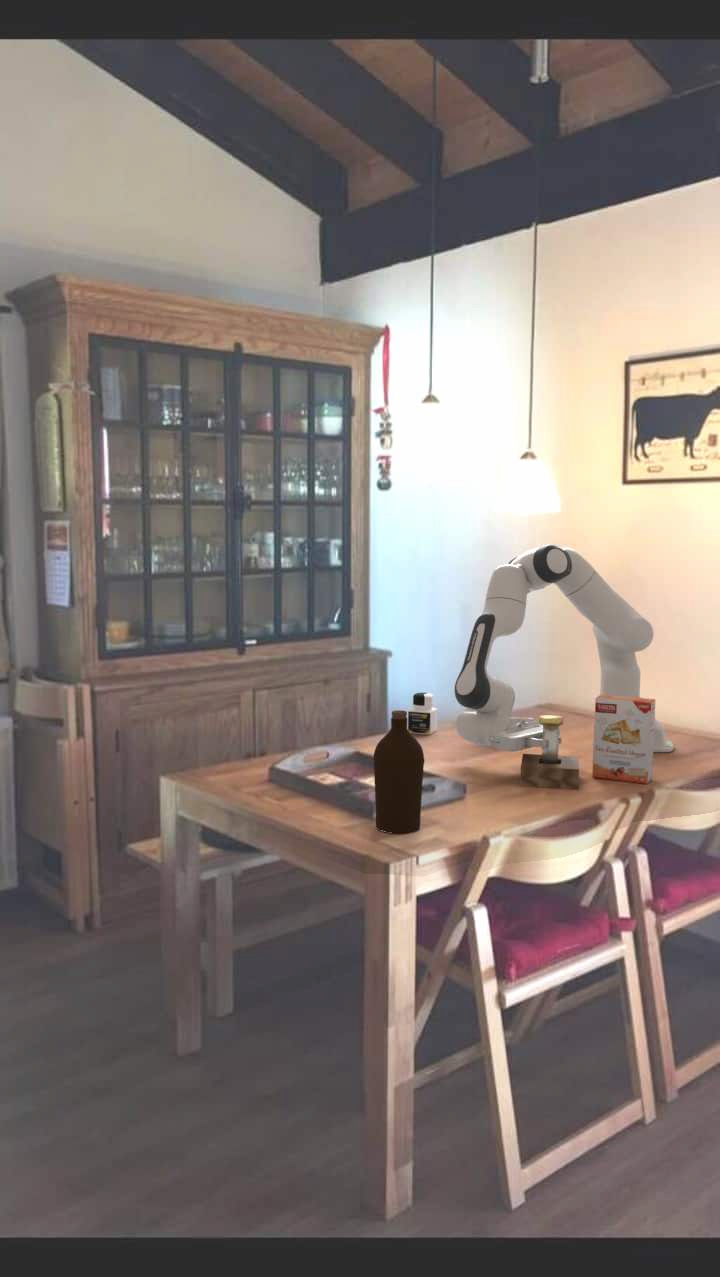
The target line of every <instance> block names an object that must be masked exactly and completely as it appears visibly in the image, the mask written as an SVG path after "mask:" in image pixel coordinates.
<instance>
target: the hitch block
mask: <svg viewBox="0 0 720 1277" xmlns="http://www.w3.org/2000/svg"><path fill="white" fill-rule="evenodd" d="M519 777H520V778H519V779H520V780H519V781H520V783H519V784H520V785H519V786H520V787H523V788H525V787H526V788H529V787H530V788H544V789H545V788H546V789H561V790H563V789H564V790H565V789H566V790H579V785H580V784H579V782H580V763H579V756H577V755H575V756H574V755H559V754H558V764H543V763H542V754H540V753H539V754H535V753H534V754H533V753H522V758H521V763H520V776H519Z"/></svg>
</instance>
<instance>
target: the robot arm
mask: <svg viewBox="0 0 720 1277" xmlns="http://www.w3.org/2000/svg"><path fill="white" fill-rule="evenodd" d="M552 584H554V586H555V585H556V586H557V588H558V589H559V590H560V591H561V594H563V595H564V596H565V597H566V598H567V599H568V601H570V602H569V603H571V604H572V605H573V606H574V607H575V609H577V611H578V612H579V613H580V614H581V615H582V616H583V617H584V618H586V620H588V621H589V622H590V623H591V624H592V632H593V634H594V637H595V639H596V644H597V651H598V652H597V653H598V657H599V664H600V694H599V695H601V694H602V695H614V696H624V697H635V698H641V697H640V695H641V669H640V666H639V664H638V662H637V657H636V653H637V652H641V651H644V650H646V649H647V648H648V647H649V646H650V645H651V643H652V642H653V638H654V629H653V626H652V624H651V623H650V622H649V620H647V619H646V618H645V617H644V616H642V615H641V614H640V613H639V612H638V611H637V610H636V609H635V608H634V607H633V606H632V605H631V604H629V602H627V601H626V600H625V599H624V598H623V597H621V596H620V594H618V592H616V591H615V590H614V589H613V588H612V587H611V586H610V585H609V584H608V583H607V582H606V580H605V579H604V578H603V577H602V576H601V575H600V574H599V572H597V570H596V569H595V568H594V566H592V564H591V563H589V561H587V559H585V558H584V557H583V556H582V555H581V554H580V553H578V551H575V550H574V549H573V548H570V547H561V546H559V545H556V544H544V545H541V546H539V547H536V548H533V549H530V550H527V551H525V552H524V553H522V554H520V555H519V556H516V557H514V558H513V559H511V560H510V561H509V562H508V563H507V564H503V565H499V566H497V567H496V568H495V569H494V570H493V572H492V574H491V576H490V580H489V583H488V586H487V590H486V594H485V595H486V596H485V602H484V607H483V610H482V613H481V615H479V617H477V619H476V621H475V623H474V625H473V629H472V631H471V635H470V639H469V642H468V646H467V650H466V652H465V656H464V659H463V660H464V661H463V664H462V667H461V670H460V672H459V673H458V676H457V678H456V681H455V683H454V684H455V685H454V697H455V699H456V701H457V702H458V704H460V706H462V707H465V709H464V710H463V711H460V712H459V713H458V715H457V717H456V720H455V727H456V732H457V733H458V734H457V735H459V737H460V738H461V739H463V740H465V741H466V742H468V743H472V744H474V745H479V746H484V747H488V746H490V747H492V748H494V749H498V750H502V751H507V752H511V753H512V752H513V753H514V752H519V751H523V750H527V749H530V748H542V747H543V748H545V747H548V746H549V741H548V740H545V739H543V725H541V724H539V720H538V721H536V720H535V718H534V717H533V718H532V717H517V716H510V715H511V712H512V711H513V707H514V705H515V700H516V699H515V698H516V696H515V691H514V689H513V687H512V686H511V685H510V684H509V683H506V682H504V681H502V680H501V679H499V678H495V677H493V676H491V675H489V673H488V671H487V667H488V662H489V658H490V655H491V651H492V647H493V644H494V642H495V640H496V639H497V638H501V637H507V636H511V635H514V634H515V633H517V632H518V631H519V630H520V629H521V628H522V626H523V623H524V620H525V616H526V608H527V602H528V600H527V597H528V594H529V593H532V592H535V591H539V590H542V589H545V588H546V587H547V586H548V587H549V586H550V585H552ZM666 737H667V736H666V731H665V727H664V725H663V724H662V723H661V722H660V721H658V720H657V719H656V718H655V722H654V745H653V753H670V752H673V751H674V744H673V742H672V741H670V740H668V739H667V738H666ZM561 744H562V737H561V728H560V727H559V745H561ZM592 744H593V745H594V740H593V742H592Z"/></svg>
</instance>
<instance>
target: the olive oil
mask: <svg viewBox="0 0 720 1277" xmlns="http://www.w3.org/2000/svg"><path fill="white" fill-rule="evenodd" d="M407 713H408V711H406V710H403V709H402V710H400V709H399V710H398V709H397V710H392V711H391V718H390V724H391V725H390V726H391V728H390V730H389V731H388V732H387V733H386V734H385V735H384V736H383V737H382V738H381V740H379V742H378V743H377V745H376V746H375V748H374V752H373V774H374V775H373V776H374V798H375V802H374V803H375V827H377V828H378V829H379V830H378V829H377V828H376V829H377V830H378V831H380V830H383V831H386V832H385V833H387V832H392V833H391V834H394V833H404V834H410V832H412V833H415V832H417V831H419V829H421V818H422V817H421V814H422V812H421V811H422V798H423V797H422V795H423V783H424V782H423V778H424V766H425V765H424V764H425V755H424V751H423V747H422V745H421V743H420V742H419V741H418V740H417V739H416V738H415V736H413V734H412V733H410V732H409V731H408V717H407V716H408V714H407ZM383 831H382V832H383Z"/></svg>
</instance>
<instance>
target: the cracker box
mask: <svg viewBox="0 0 720 1277" xmlns="http://www.w3.org/2000/svg"><path fill="white" fill-rule="evenodd" d="M594 704H595V706H594V707H595V708H594V724H593V726H594V729H593V731H594V732H593V741H594V744H593V751H592V754H593V755H592V775H591V776H592V778H597V779H605V780H614V781H620V782H627V783H637V784H642V785H643V784H644V785H648V784H649V782H651V780H652V778H653V762H654V752H653V745H654V722H655V719H656V718H655V717H656V699H655V698H643V697H640V698H635V697H624V696H614V695H602V694H601V695H600V694H599V695H598V696H596V697H595V703H594Z"/></svg>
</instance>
